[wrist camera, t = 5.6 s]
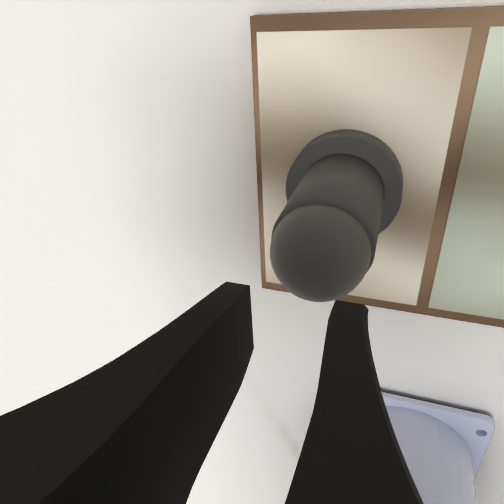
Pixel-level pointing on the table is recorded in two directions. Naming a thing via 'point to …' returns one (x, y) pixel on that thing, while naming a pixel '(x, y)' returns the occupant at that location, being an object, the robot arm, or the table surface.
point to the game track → (397, 142)
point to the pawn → (335, 213)
